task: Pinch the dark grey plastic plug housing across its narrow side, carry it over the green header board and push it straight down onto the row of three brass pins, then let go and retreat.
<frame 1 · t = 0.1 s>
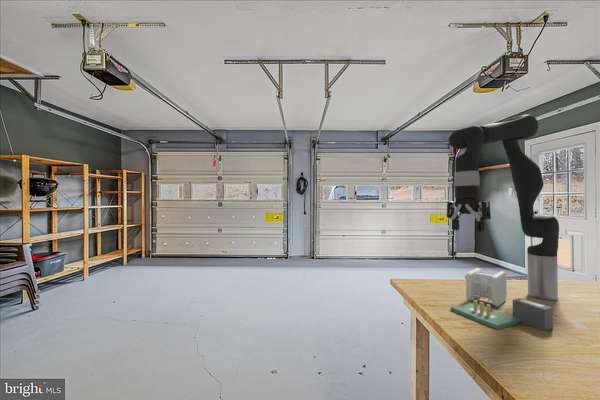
hand: (467, 231, 94), 29 cm above the table, fingers open, 8 cm apart
header board: (483, 316, 93), on the table
white socket shroud: (486, 301, 107), on the table
plug housing: (532, 323, 87), on the table
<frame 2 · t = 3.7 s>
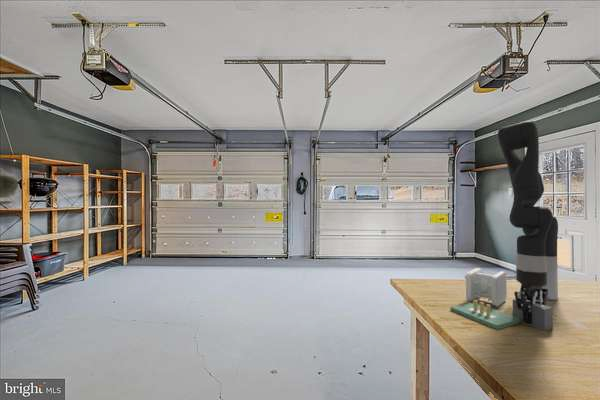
hand: (531, 321, 87), 1 cm above the table, fingers closed on plug housing, 4 cm apart
plug housing: (532, 323, 87), on the table, touching gripper
everything else where it was.
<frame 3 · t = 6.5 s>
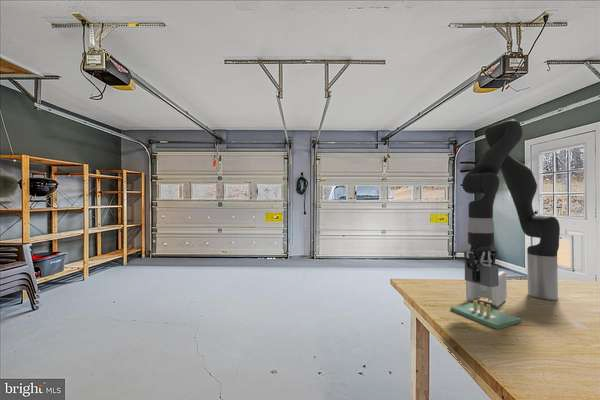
hand: (480, 280, 93), 12 cm above the table, fingers closed on plug housing, 4 cm apart
plug housing: (481, 282, 93), point 12 cm above the table, touching gripper
everything else where it was.
when the fingers open (2 cm above the table, at t = 9.1 s): plug housing stays where it is, resting on header board.
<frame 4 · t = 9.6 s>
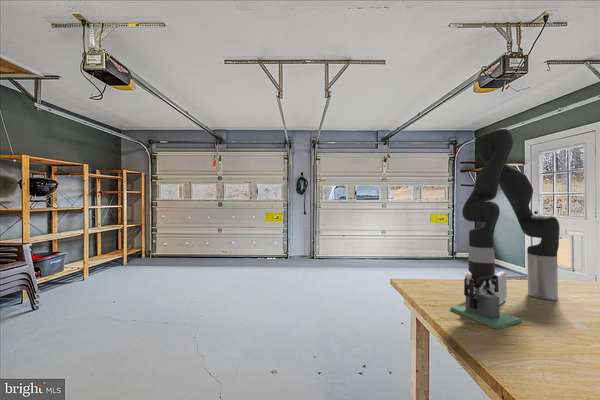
hand: (481, 306, 93), 3 cm above the table, fingers open, 8 cm apart
plug housing: (482, 312, 93), point 1 cm above the table, touching header board
everything else where it was.
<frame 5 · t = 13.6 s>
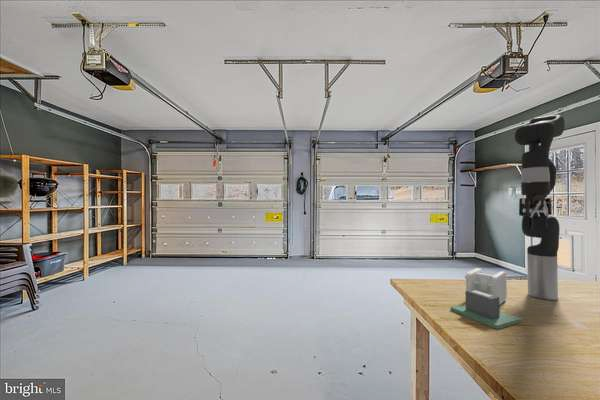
hand: (535, 228, 93), 30 cm above the table, fingers open, 8 cm apart
nothing on the table moved.
at the end: plug housing 0.1 cm from the target spot on the header board, point 1.3 cm above the header board's base; plug housing tilted 0°; the gripper is holding nothing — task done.
